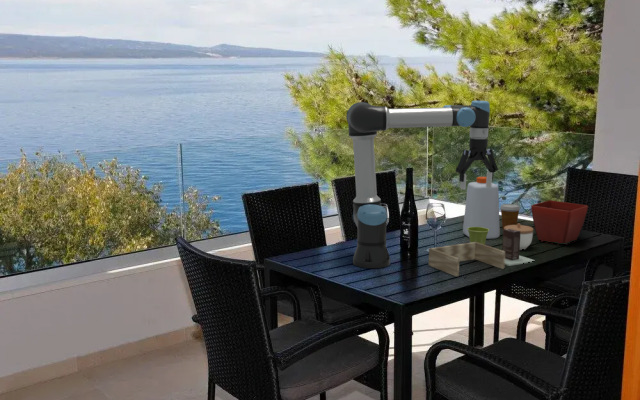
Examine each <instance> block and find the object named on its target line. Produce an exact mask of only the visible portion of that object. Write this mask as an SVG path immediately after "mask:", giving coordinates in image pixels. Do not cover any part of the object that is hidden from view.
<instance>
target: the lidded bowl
mask: <svg viewBox="0 0 640 400" xmlns="http://www.w3.org/2000/svg"><path fill="white" fill-rule="evenodd" d="M504 229H513V230H517V231H521V232H520V250H519V251H522V249H524V250H526V249H527V248H528V247H529V246H530V245H531V243H532V241H533V236H534V230H535V228H533V227H531V226H529V225H522V224H521V223H518V222H517V225H508V226H505V227H504Z"/></svg>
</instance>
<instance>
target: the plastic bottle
mask: <svg viewBox="0 0 640 400" xmlns="http://www.w3.org/2000/svg"><path fill="white" fill-rule="evenodd" d="M486 179H487V176H478V177H476V181H473V182H472V181H471V182H469V183H467V186H466V189H467V190H466V198H465V207H464V209H465V210H464V217H463V226H462V233H463V235H466V237H468V238H469V232H468V230H467V228H469V227H483V228H487V229H489V231H488V234H487V237H486V240H491V239H492V240H493V239H498V238H499V237H500V235H501V233H500V232H501V229H500V227H501V226H500V204H499V203H500V200H499V199H500V197H499V191H500V190H499V185H498V184H496V183H493V182H492V188H488V187H486Z"/></svg>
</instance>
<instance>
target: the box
mask: <svg viewBox="0 0 640 400" xmlns="http://www.w3.org/2000/svg"><path fill="white" fill-rule="evenodd" d="M502 231H503V232H502V248H501V249H502V251H505V258H506V259H510V260H517V259H519V255H520V251H521V250H520V232H521V231H517V230H513V229H504V230H503V229H502Z"/></svg>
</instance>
